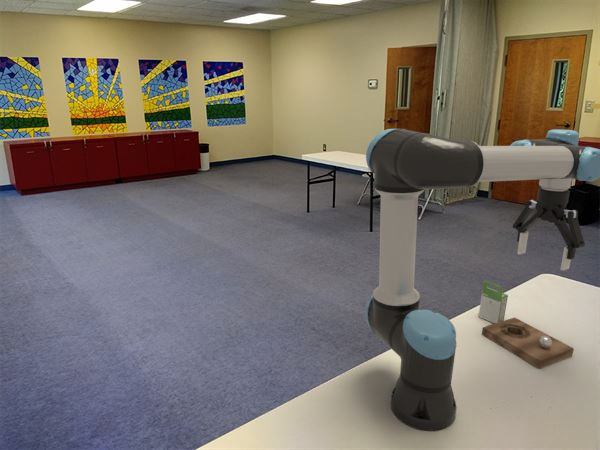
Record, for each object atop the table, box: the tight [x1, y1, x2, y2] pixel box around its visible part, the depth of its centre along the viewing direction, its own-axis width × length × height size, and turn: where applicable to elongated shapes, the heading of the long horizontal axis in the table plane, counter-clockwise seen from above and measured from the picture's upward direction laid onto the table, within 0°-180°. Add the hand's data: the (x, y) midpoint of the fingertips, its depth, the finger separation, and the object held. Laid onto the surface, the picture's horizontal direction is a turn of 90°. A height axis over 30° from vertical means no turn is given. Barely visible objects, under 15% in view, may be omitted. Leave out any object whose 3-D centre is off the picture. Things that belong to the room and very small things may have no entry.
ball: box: [539, 336, 552, 348], centre depth 131 cm, size 3×3×3 cm
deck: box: [481, 317, 574, 370], centre depth 137 cm, size 20×14×2 cm
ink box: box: [478, 280, 509, 324], centre depth 150 cm, size 7×4×13 cm, turn 37°
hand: (542, 261), depth 132 cm, fingers open, 13 cm apart
